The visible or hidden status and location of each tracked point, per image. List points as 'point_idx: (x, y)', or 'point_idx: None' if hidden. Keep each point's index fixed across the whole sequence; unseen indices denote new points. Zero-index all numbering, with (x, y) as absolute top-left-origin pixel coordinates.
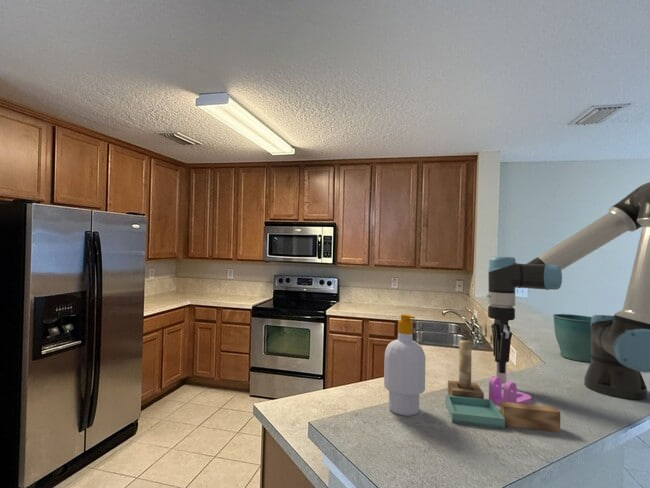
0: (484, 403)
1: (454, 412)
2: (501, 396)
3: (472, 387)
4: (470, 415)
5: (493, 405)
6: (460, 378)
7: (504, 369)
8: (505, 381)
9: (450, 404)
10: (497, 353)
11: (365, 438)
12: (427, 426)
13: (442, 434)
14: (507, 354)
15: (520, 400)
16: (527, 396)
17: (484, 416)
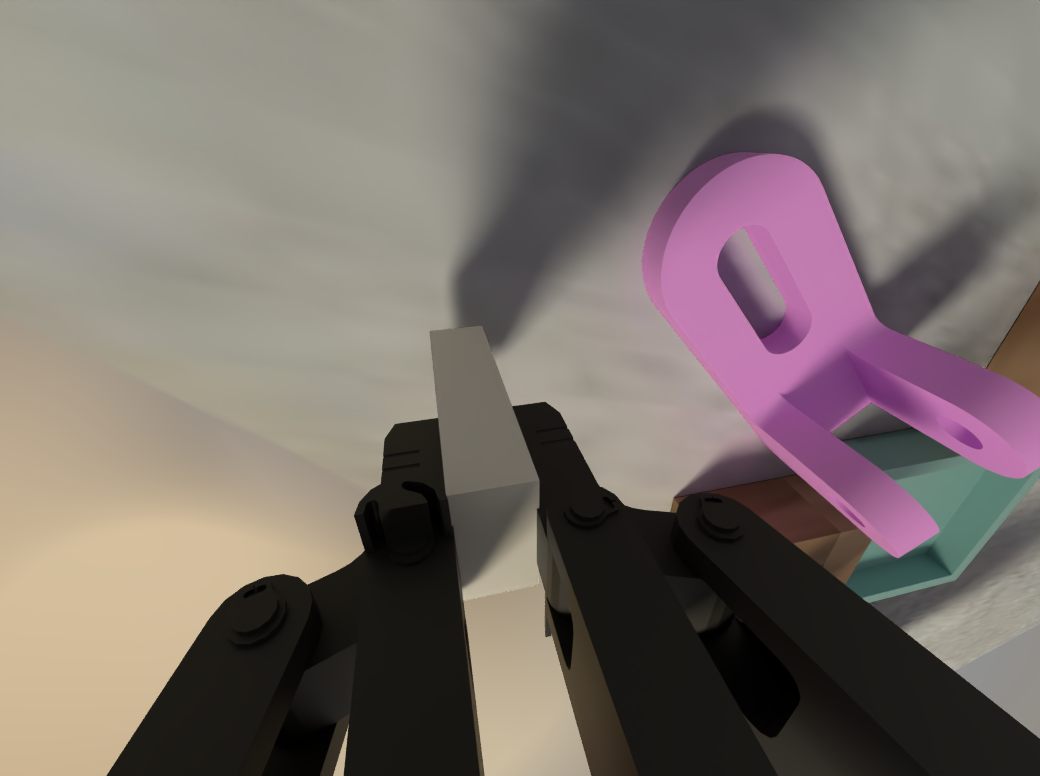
0: None
1: (953, 576)
2: (789, 403)
3: None
4: (989, 535)
5: (944, 465)
6: None
7: (571, 438)
8: (484, 339)
9: (890, 594)
10: (582, 732)
11: None
12: (921, 593)
13: (973, 560)
14: (887, 659)
15: (847, 285)
16: (780, 196)
17: (1020, 498)
